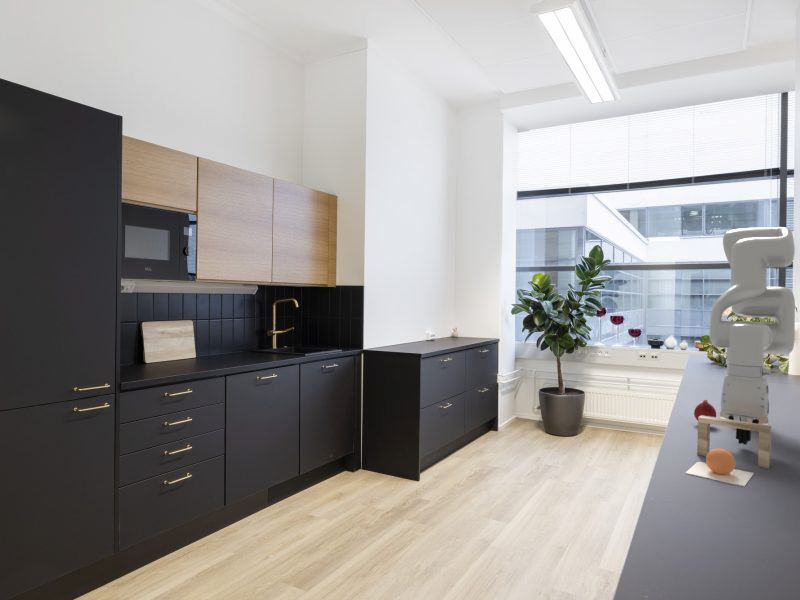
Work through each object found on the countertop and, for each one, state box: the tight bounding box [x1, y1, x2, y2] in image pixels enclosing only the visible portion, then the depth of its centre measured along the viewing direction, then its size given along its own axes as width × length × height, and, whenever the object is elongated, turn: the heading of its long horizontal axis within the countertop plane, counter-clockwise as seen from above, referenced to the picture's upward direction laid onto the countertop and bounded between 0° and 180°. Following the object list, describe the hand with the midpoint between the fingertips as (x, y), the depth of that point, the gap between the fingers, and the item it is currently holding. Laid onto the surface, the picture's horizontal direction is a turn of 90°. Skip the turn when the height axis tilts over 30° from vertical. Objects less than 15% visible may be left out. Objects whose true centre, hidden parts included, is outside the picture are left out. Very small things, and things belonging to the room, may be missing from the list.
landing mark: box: [684, 461, 755, 488], centre depth 116 cm, size 11×11×1 cm
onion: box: [693, 399, 717, 422], centre depth 160 cm, size 6×6×8 cm
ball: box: [705, 447, 736, 475], centre depth 116 cm, size 6×6×6 cm
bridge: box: [696, 415, 773, 469], centre depth 127 cm, size 3×14×9 cm, turn 48°
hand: (743, 442), depth 136 cm, fingers closed
